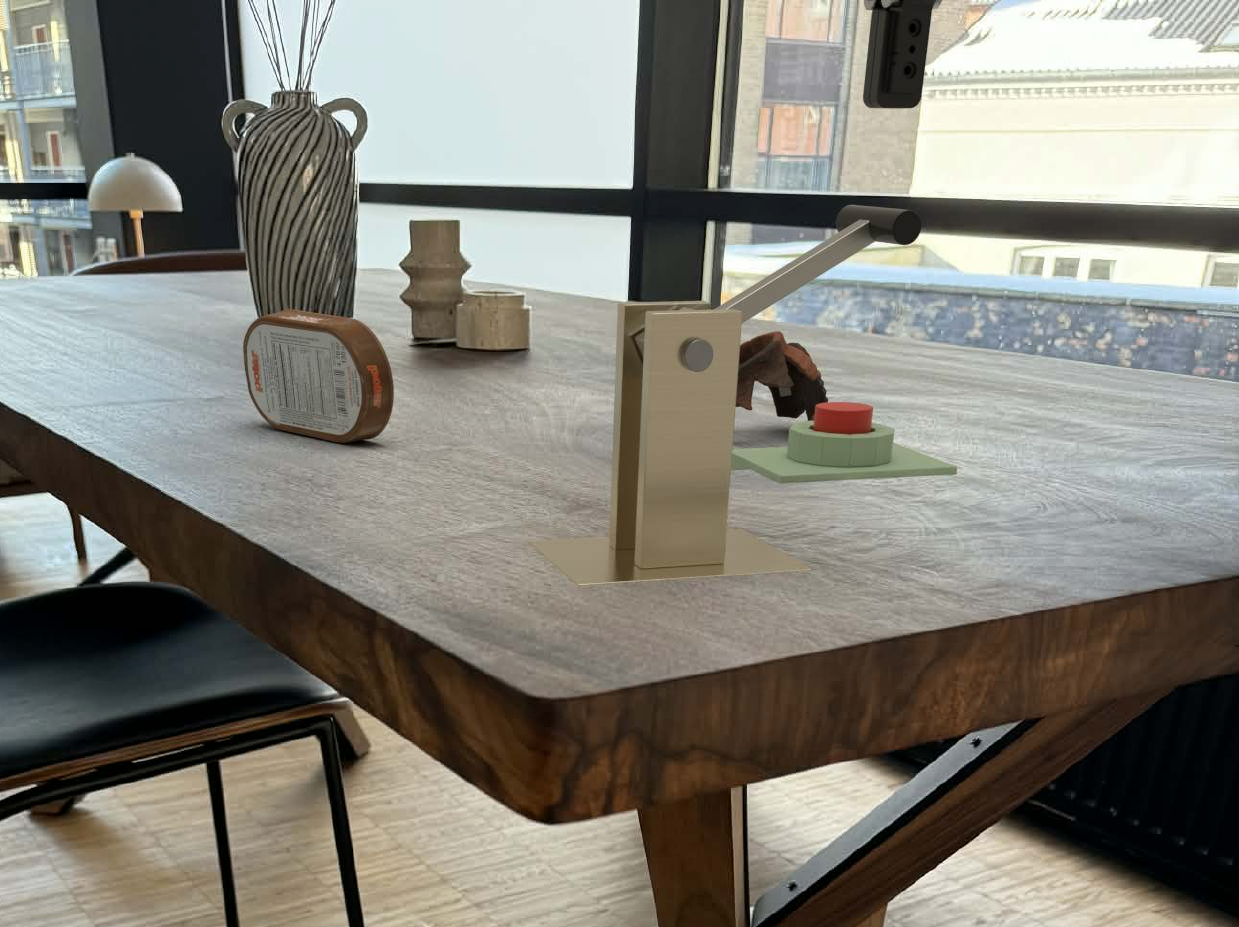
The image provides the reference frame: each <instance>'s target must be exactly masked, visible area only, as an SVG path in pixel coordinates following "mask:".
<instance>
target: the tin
mask: <svg viewBox="0 0 1239 927" xmlns="http://www.w3.org/2000/svg"><path fill="white" fill-rule="evenodd" d="M242 350H243V352H242V353H243V364H244V365H243V366H244V372H245V379H246V383H247V389H248V393H249V394H248V395H249V396H250V399H251V401H252V403H253V405H254V407H255V409H256V410H257V412H258V413H259V415H260V416H261V417H262V418H263V420H265V421H266V422H267V423H268V425H270V426H272V427H273V428H275V429H276V430H277V429H278V430H281V431H284V432H290V433H294V434H299V435H303V436H308V437H312V438H316V439H321V440H325V441H329V442H334V443H339V444H340V443H341V444H349V443H354V442H359V441H363V440H364V441H366V440H373V439H375V438H377V437H378V436H379V435H381V434H382V433H383V431H384V430H385V429H386V427H387V426H388V425H389V424H388V423H389V421H390V419H391V415H392V413H393V408H394V399H395V398H394V397H395V387H394V386H395V385H394V379H393V378H394V377H393V372H392V367H391V364H390V362H389V358H388V356H387V353H386V351H385V348H384V347H383V345H382V343H381V341H380V340H379V338H378V337H377V335H376V333H374V331H373V330H372V329H371V328H370V327H369V326H368V325H366V324H365V323H364V322H362V321H361V320H358V319H356V318H353V317H345V316H339V315H331V314H324V313H318V312H311V311H305V310H300V309H299V310H298V309H291V308H288V309H284V310H281V311H280V312H275V313H270V314H265V315H262V316H260V317H257V318H256V319H255V320H254V321H252V322H251V323H250V325H249V326H248V329H247V330H246V333H245V335H244V338H243V343H242Z"/></svg>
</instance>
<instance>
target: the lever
mask: <svg viewBox="0 0 1239 927" xmlns="http://www.w3.org/2000/svg"><path fill="white" fill-rule="evenodd" d="M835 226H836V230H837V233H836V234H834V235H832V236H831V237H828V238H827V239H826V240H824V241H823V242H820V243H819V244H818V245H816V246H814V247H813V248H811V249H810V250H808V251H806V252H804V253H803V254H801V255H800V256H797V257H796V258H795V259H793V260H791V261H790V262H788V263H787V264H785V265H784V266H782V267H780V268H779V269H776V270H775V271H773V272H772V273H770V274H769V275H767V276H765V277H764V278H763V279H760V280H759V281H758V282H756V283H755V284H753V285H750V286H749V287H748V288H746V289H745V290H743V291H742V292H740V293H738V294H736V295H735V296H733V297H731V298H730V299H729V300H727V301H725V302H724V303H722V304H720V305H718V306H717V307H716V308H714V309H713V310H715V309H736V310H740V311H742V324H744V323H745V322H747V321H749V320H751V319H752V318H753V317H755V316H757V315H759V314H760V313H762V312H763V311H765V310H767V309H768V308H770V307H771V306H773V305H775V304H777V303H778V302H780V301H781V300H783V299H784V298H786V297H788V296H789V295H791V294H793V293H794V292H796V291H797V290H799V289H801V288H803V287H804V286H805V285H808V283H810V282H812V281H814V280H816V279H817V278H818V277H820V276H822V275H824V274H825V273H827V272H828V271H830V270H832V269H833V268H835V267H836V266H838V265H840V264H842V263H843V262H845V261H846V260H848V259H849V258H851V257H853V256H854V255H856V254H858V253H859V252H861V251H862V250H863V249H867V247H869V246H871V245H872V244H874V243H875V242H876V243H883V244H890V245H899V246H909V245H912V244H913V243H914V242H915V241H917V239H918V238H919V236H920V235H921V231H922V219H921V217H920V215H919V214H918V213H917V212H916V211H915V210H912V209H902V208H892V207H883V206H882V207H881V206H869V205H858V204H848V205H845V206H844V207H842V208H841V209H840V211H839V212H838V214H837V216H836V219H835ZM680 310H693V309H690V308H686V307H683V308H681V309H680ZM644 337H645V331H644V332H642V333H641V334H639V335H637V336H636V337H635V340H636V343H637V345H638V347H639V350H640V352H641V354H642V357H643V359H644Z"/></svg>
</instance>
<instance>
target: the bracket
mask: <svg viewBox="0 0 1239 927" xmlns="http://www.w3.org/2000/svg"><path fill="white" fill-rule="evenodd" d="M711 306H712V302H709V301H706V300H681V301H680V300H679V301H677V300H675V301H634V302H633V301H632V302H618V303H617V314H616V315H617V316H616V317H617V319H616V320H617V321H616V344H615V345H616V348H615V352H616V353H615V371H614V398H613V399H614V401H613V402H614V403H613V426H612V427H613V428H612V430H613V431H612V432H613V433H612V457H611V459H612V460H611V482H610V483H611V485H610V486H611V488H610V512H609V536H593V537H578V538H576V537H573V538H557V539H539V540H528V541H527V543H528V544H529V545H531V547H533V549H535V550H536V551H537V552H538V553H540V554H541V555H542V556H543V557H544V558H545V559H546V560H547V561H549V563H551V564H552V565H553V566H555V567H556V569H558V570H559V571H560V572H561V573H563V575H565V576H566V577H567V578H568V579H569V580H571V581H572V582H573V583H574V584H575V585H576V586H577V587H581V586H596V585H612V584H625V583H626V584H627V583H643V582H657V581H671V580H673V581H674V580H685V579H686V580H687V579H688V580H689V579H703V578H717V577H718V578H719V577H733V576H735V577H736V576H746V575H747V576H749V575H761V574H762V575H763V574H764V575H765V574H779V573H793V572H809V571H811V572H812V571H813V569H812V568H811V567H809V566H807V565H806V564H803V563H802V562H800V561H798V560H797V559H795V558H793V557H791V556H790V555H788V554H787V553H785V552H783V551H781V550H780V549H778V548H776V547H774V546H773V545H771V544H769V543H768V542H766V541H765V540H762V539H761V538H758V537H757V536H756V535H753V533H750V532H749V531H747V530H745V529H743V528H729V529H728V516H729V503H730V487H731V476H732V475H731V474H732V470H731V463H732V449H734V435H735V434H734V433H735V420H736V408H737V407H736V395H737V381H738V367H739V354H740V345H741V340H742V339H741V338H742V335H741V334H742V325H743V323H742V311H740V310H736V309H715V308H714V309H715V310H714V309H711ZM683 307H686V308H690V309H693V310H680V309H681V308H683ZM644 331H645V337H644V359H643V357H642V354H641V352H640V350H639V347H638V345H637V343H636V340H635V337H636V336H637V335H639V334H641V333H642V332H644Z"/></svg>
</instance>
